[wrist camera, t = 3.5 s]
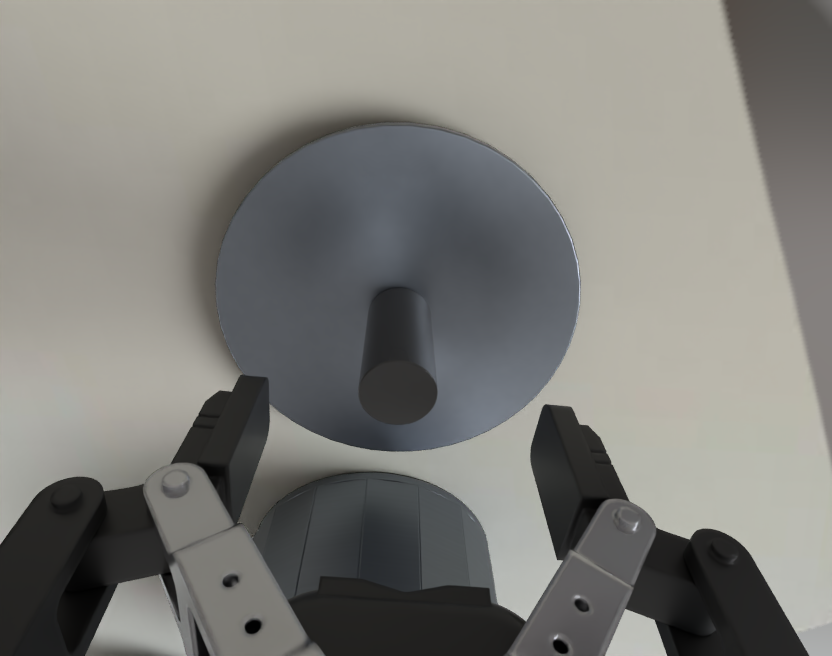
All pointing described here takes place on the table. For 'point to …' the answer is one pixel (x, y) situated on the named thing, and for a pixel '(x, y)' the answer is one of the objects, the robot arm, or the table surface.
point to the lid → (398, 286)
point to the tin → (374, 535)
